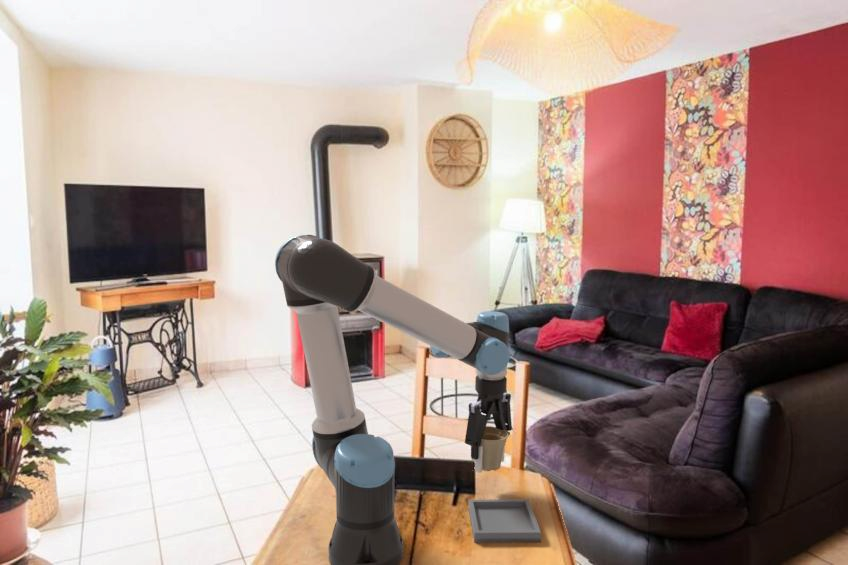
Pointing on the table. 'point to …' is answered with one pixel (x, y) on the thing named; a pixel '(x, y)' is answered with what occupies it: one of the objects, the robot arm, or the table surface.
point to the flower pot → (493, 447)
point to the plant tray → (503, 521)
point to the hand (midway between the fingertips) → (487, 465)
